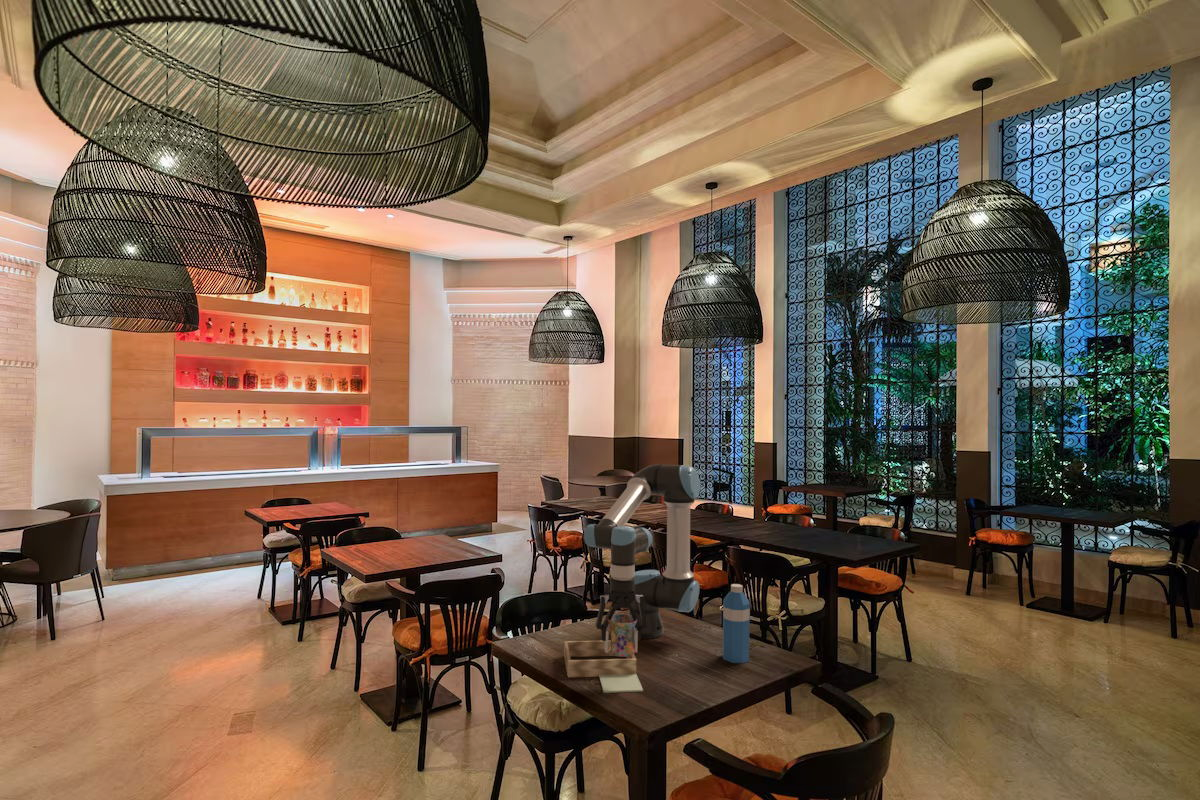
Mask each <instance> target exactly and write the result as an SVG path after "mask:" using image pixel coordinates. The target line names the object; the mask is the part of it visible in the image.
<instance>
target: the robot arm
mask: <svg viewBox="0 0 1200 800" xmlns="http://www.w3.org/2000/svg"><path fill="white" fill-rule="evenodd" d="M700 490H701V481H700V475H699V473H698V471H697V469H695V468H694V467H693V466H688V465H683V464H682V465H681V464H661V463H657V464H655V463H654V464H651V465H648V466H646V467H644V468H642V469H641V470H639V471H638V472H636V473H634V474H633V475H632V477H631V478H630V479H629V480H628V481H627V484H626V488H625V490H624V491H623V492H622V493H621V494H620V496H619V497H618V499H617V500H615V502H614V503H613V504H612V506H611V507H610V509H608V511H607V512H606V513H605V515H604V516H602V517H603V518H601V520H600V521H599V522H598V524H596V523H593V524H592V523H590V524H588V525H587V526H586V527H585V529H584V533H583V539H584V543H585V545H586V546H587V547H591V548H596V549H605V550H610V577H611V578H610V579H609V580H610V581H609V583H610V584H609V593H608V594H606V595H604V594H601V595H600V596H599V599H600V603H599V607H598V613H597V616H596V617H597V618H596V621H595V626H596V629H597V630H600V631H601V632H600V633H601V635H600V637H601V640H602V641H605V652H606V653H608V640H609V629H608V626H610V625H609V623H608V620H607V619H609V620H610V621H611V619H612V616H613V615H615V612H616V610H617V609H622V608H623V609H628V612H627V615H631V616H632V618H633V620H634V622H635V620H636V618H637V623H636V625H635V628H634V632H633V645H634V648H635V653H638V642H639V641H641V639H645V640H646V639H655V638H659V637H661V636H663V635H664V630H665V629H664V628H665V627H664V625H663V621H662V616H661V613H660V609H665V610H669V611H676V612H678V613H682V612H683V613H691V612H692V611H693V610H694V609H695V607H696V605H697V603H698V601H699V595H700V583H699V582H698V581H697V580H695V574H694V573H693V572H692V570H691V507H692V505H693V504H694V503H695V499H697V498H698V497H699V496H700ZM656 495H657V496H662V501H663V503H664V504H665V505H666V569H665V570H664V572H662V575H661V573H660V570H657V569H643V570H638V571H636V570H635V569H636V567H635V566H636V555H637V554H640V553H642V552H645V551H646V550H648V549H649V548H650V547H651V545H652V543H653V535H652V533H651V532H650V530H649V529H647V528H645V527H636V528H634V527H632V526H627V525H626V524H627V523H628V522H629V520H630V519H631V518H632V516H633V515H634V514H635V512H636V511H637V509H638V508H639V506H640V505H641V504H642V502H643V501H645V500H647V499H649V498H650V497H651V496H656ZM625 525H626V526H625ZM608 600H610V602H611V604H610V608H609V609H608V612H607V613H606V615H605V617H604V613H605V608H606V604H607V603H608ZM603 618H604V620H603Z"/></svg>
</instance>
